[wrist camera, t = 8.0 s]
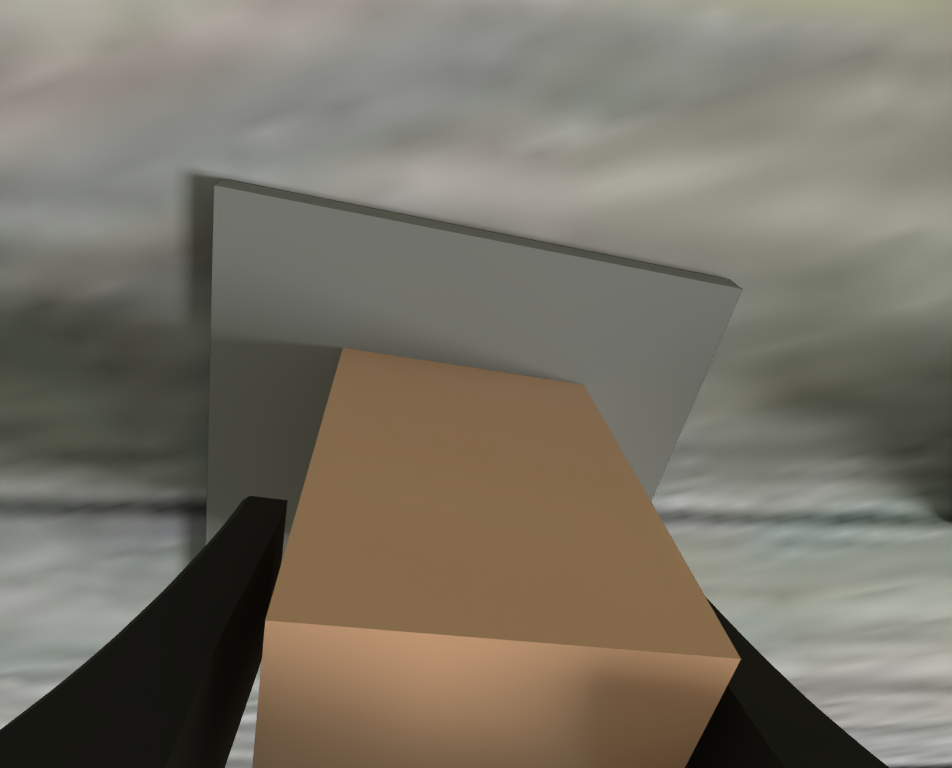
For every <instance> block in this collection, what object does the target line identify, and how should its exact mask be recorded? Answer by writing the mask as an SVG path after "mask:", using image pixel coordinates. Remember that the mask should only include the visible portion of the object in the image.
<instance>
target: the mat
mask: <svg viewBox="0 0 952 768" xmlns="http://www.w3.org/2000/svg"><path fill="white" fill-rule="evenodd" d="M741 292H742V288H740V287H739V286H738V285H736V284H735V283H734V282H732V281H731V280H730V279H725V278H720V277H715V276H710V275H705V274H700V273H695V272H690V271H685V270H680V269H675V268H670V267H665V266H660V265H655V264H650V263H645V262H640V261H635V260H630V259H625V258H620V257H615V256H610V255H605V254H600V253H595V252H590V251H584V250H579V249H574V248H569V247H564V246H559V245H554V244H549V243H544V242H539V241H534V240H529V239H524V238H519V237H514V236H509V235H504V234H499V233H494V232H489V231H484V230H479V229H474V228H469V227H464V226H459V225H454V224H449V223H444V222H439V221H434V220H429V219H423V218H418V217H413V216H408V215H403V214H398V213H393V212H388V211H383V210H378V209H373V208H368V207H363V206H358V205H353V204H348V203H343V202H338V201H333V200H328V199H323V198H318V197H313V196H308V195H303V194H298V193H293V192H288V191H283V190H278V189H273V188H267V187H262V186H257V185H252V184H247V183H242V182H237V181H232V180H227V179H223V180H221V181H220V182H218V183H217V184H215V185H214V211H213V254H212V297H211V340H210V383H209V426H208V469H207V512H206V545H207V544H208V542H209V541H210V540H211V539H212V538H213V537H214V536H215V534H216V533H217V532H218V531H219V530H220V528H221V527H222V526H223V525H224V524H225V522H226V521H227V520H228V519H229V517H230V516H231V515H232V514H233V512H234V511H235V510H236V508H237V507H238V506H239V504H240V503H241V502H242V500H244V499H245V498H247V497H249V496H256V497H265V498H273V499H282V500H288V501H287V512H286V522H285V532H284V542H283V553H282V560H283V556H284V553H285V549H286V546H287V542H288V539H289V535H290V532H291V528H292V525H293V521H294V518H295V514H296V511H297V507H298V504H299V500H300V497H301V493H302V490H303V486H304V483H305V479H306V476H307V472H308V468H309V465H310V461H311V458H312V454H313V451H314V447H315V444H316V440H317V437H318V433H319V430H320V426H321V423H322V419H323V416H324V412H325V409H326V405H327V402H328V398H329V395H330V391H331V388H332V384H333V381H334V377H335V374H336V370H337V367H338V363H339V360H340V356H341V353H342V349H343V348H348V349H355V350H361V351H368V352H374V353H381V354H387V355H394V356H400V357H407V358H413V359H420V360H427V361H433V362H440V363H446V364H453V365H459V366H466V367H472V368H479V369H485V370H492V371H498V372H505V373H511V374H518V375H524V376H531V377H537V378H544V379H550V380H557V381H564V382H570V383H577V384H583V385H584V386H585V388H586V389H587V391H588V393H589V394H590V396H591V398H592V400H593V401H594V403H595V405H596V407H597V408H598V410H599V412H600V414H601V415H602V417H603V419H604V421H605V422H606V424H607V426H608V428H609V429H610V431H611V433H612V435H613V436H614V438H615V440H616V442H617V443H618V445H619V447H620V449H621V450H622V452H623V454H624V456H625V457H626V459H627V461H628V463H629V464H630V466H631V468H632V470H633V471H634V473H635V475H636V477H637V478H638V480H639V482H640V484H641V485H642V487H643V489H644V490H645V492H646V494H647V496H648V497H649V499H650V501H651V500H652V498H653V495H654V493H655V491H656V489H657V486H658V484H659V482H660V479H661V477H662V475H663V472H664V470H665V468H666V465H667V463H668V461H669V458H670V456H671V454H672V451H673V449H674V447H675V444H676V442H677V440H678V438H679V435H680V433H681V431H682V428H683V426H684V424H685V421H686V419H687V417H688V414H689V412H690V410H691V407H692V405H693V403H694V400H695V398H696V396H697V393H698V391H699V389H700V387H701V384H702V382H703V380H704V377H705V375H706V373H707V370H708V368H709V366H710V363H711V361H712V359H713V356H714V354H715V352H716V349H717V347H718V345H719V343H720V340H721V338H722V336H723V333H724V331H725V329H726V326H727V324H728V322H729V319H730V317H731V315H732V312H733V310H734V308H735V305H736V303H737V301H738V298H739V296H740V294H741Z"/></svg>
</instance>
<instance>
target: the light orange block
mask: <svg viewBox="0 0 952 768" xmlns="http://www.w3.org/2000/svg"><path fill="white" fill-rule="evenodd" d="M740 660H741V658H740V656H739V655H738V653H737V651H736V649H735V648H734V646H733V644H732V642H731V641H730V639H729V637H728V635H727V634H726V632H725V630H724V628H723V627H722V625H721V623H720V621H719V620H718V618H717V616H716V614H715V613H714V611H713V609H712V607H711V606H710V604H709V602H708V600H707V599H706V597H705V595H704V593H703V592H702V590H701V588H700V587H699V585H698V583H697V581H696V580H695V578H694V576H693V574H692V573H691V571H690V569H689V567H688V566H687V564H686V562H685V560H684V559H683V557H682V555H681V553H680V552H679V550H678V548H677V546H676V545H675V543H674V541H673V539H672V538H671V536H670V534H669V532H668V531H667V529H666V527H665V525H664V524H663V522H662V520H661V518H660V517H659V515H658V513H657V511H656V510H655V508H654V506H653V504H652V503H651V501H650V499H649V497H648V496H647V494H646V492H645V490H644V489H643V487H642V485H641V484H640V482H639V480H638V478H637V477H636V475H635V473H634V471H633V470H632V468H631V466H630V464H629V463H628V461H627V459H626V457H625V456H624V454H623V452H622V450H621V449H620V447H619V445H618V443H617V442H616V440H615V438H614V436H613V435H612V433H611V431H610V429H609V428H608V426H607V424H606V422H605V421H604V419H603V417H602V415H601V414H600V412H599V410H598V408H597V407H596V405H595V403H594V401H593V400H592V398H591V396H590V394H589V393H588V391H587V389H586V388H585V386H584V385H583V384H577V383H570V382H564V381H557V380H550V379H544V378H537V377H531V376H524V375H518V374H511V373H505V372H498V371H492V370H485V369H479V368H472V367H466V366H459V365H453V364H446V363H440V362H433V361H427V360H420V359H413V358H407V357H400V356H394V355H387V354H381V353H374V352H368V351H361V350H355V349H348V348H343V349H342V353H341V356H340V360H339V363H338V367H337V370H336V374H335V377H334V381H333V384H332V388H331V391H330V395H329V398H328V402H327V405H326V409H325V412H324V416H323V419H322V423H321V426H320V430H319V433H318V437H317V440H316V444H315V447H314V451H313V454H312V458H311V461H310V465H309V468H308V472H307V476H306V479H305V483H304V486H303V490H302V493H301V497H300V500H299V504H298V507H297V511H296V514H295V518H294V521H293V525H292V528H291V532H290V535H289V539H288V542H287V546H286V549H285V553H284V556H283V560H282V563H281V567H280V570H279V574H278V577H277V581H276V584H275V588H274V591H273V595H272V598H271V602H270V606H269V609H268V613H267V616H266V620H265V629H264V641H263V652H262V664H261V675H260V687H259V698H258V710H257V721H256V733H255V744H254V756H253V768H685V766H686V764H687V763H688V761H689V759H690V757H691V755H692V753H693V751H694V749H695V747H696V745H697V743H698V741H699V739H700V737H701V735H702V734H703V732H704V730H705V728H706V726H707V724H708V722H709V720H710V718H711V716H712V714H713V712H714V710H715V708H716V706H717V705H718V703H719V701H720V699H721V697H722V695H723V693H724V691H725V689H726V687H727V685H728V683H729V681H730V679H731V677H732V676H733V674H734V672H735V670H736V668H737V666H738V664H739V662H740Z"/></svg>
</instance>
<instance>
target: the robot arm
mask: <svg viewBox="0 0 952 768" xmlns="http://www.w3.org/2000/svg"><path fill="white" fill-rule="evenodd" d="M287 501H288V500H282V499H273V498H265V497H256V496H249V497H247V498H245V499H244V500H242V502H241V503H240V504H239V506H238V507H237V508H236V510H235V511H234V512H233V514H232V515H231V516H230V517H229V519H228V520H227V521H226V522H225V524H224V525H223V526H222V527H221V528H220V530H219V531H218V532H217V533H216V534H215V536H214V537H213V538H212V539H211V540H210V541H209V542H208V544H207V545H206V546H205V547H204V548H203V549H202V550H201V552H200V553H199V554H198V555H197V556H196V557H195V558H194V559H193V560H192V561H191V562H190V563H189V564H188V565H187V567H186V568H185V569H184V570H183V571H182V572H181V573H180V574H179V575H178V576H177V577H176V578H175V579H174V580H173V581H172V582H171V584H170V585H169V586H168V587H167V588H166V589H165V590H164V591H163V592H162V593H161V594H160V595H159V596H158V597H157V598H156V599H154V600H153V601H152V602H151V603H150V604H149V605H148V606H147V607H146V608H145V609H144V610H143V611H142V612H141V613H140V614H139V615H138V616H137V617H136V618H135V619H133V620H132V621H131V622H130V623H129V624H128V625H127V626H126V627H125V628H124V629H123V630H122V631H121V632H120V633H119V634H118V635H116V636H115V637H114V638H113V639H112V640H111V641H110V642H109V643H107V644H106V645H105V646H104V647H103V648H102V649H101V650H100V651H98V652H97V653H96V654H95V655H94V656H93V657H91V658H90V659H89V660H88V661H87V662H86V663H84V664H83V665H82V666H81V667H80V668H78V669H77V670H76V671H75V672H73V673H72V674H71V675H70V676H69V677H67V678H66V679H65V680H64V681H63V682H61V683H60V684H59V685H58V686H56V687H55V688H54V689H53V690H51V691H50V692H49V693H48V694H46V695H45V696H44V697H42V698H41V699H40V700H39V701H37V702H36V703H35V704H33V705H32V706H31V707H29V708H28V709H27V710H25V711H24V712H23V713H22V714H20V715H19V716H18V717H16V718H15V719H14V720H12V721H11V722H10V723H9V724H7V725H6V726H5V727H3V728H2V729H1V730H0V768H225V765H226V762H227V759H228V756H229V753H230V750H231V747H232V745H233V742H234V739H235V736H236V733H237V730H238V727H239V724H240V721H241V718H242V715H243V713H244V710H245V707H246V704H247V701H248V698H249V695H250V692H251V689H252V686H253V683H254V680H255V677H256V674H257V672H258V669H259V666H260V663H261V660H262V652H263V641H264V629H265V620H266V616H267V613H268V609H269V606H270V602H271V598H272V595H273V591H274V588H275V584H276V581H277V577H278V574H279V570H280V567H281V563H282V553H283V542H284V532H285V522H286V512H287ZM706 599H707V598H706ZM707 600H708V599H707ZM708 602H709V604H710V606H711V607H712V609H713V611H714V613H715V614H716V616H717V618H718V620H719V621H720V623H721V625H722V627H723V628H724V630H725V632H726V634H727V635H728V637H729V639H730V641H731V642H732V644H733V646H734V648H735V649H736V651H737V653H738V655H739V656H740V658H741V660H740V662H739V664H738V666H737V668H736V670H735V672H734V674H733V676H732V677H731V679H730V681H729V683H728V685H727V687H726V689H725V691H724V693H723V695H722V697H721V699H720V701H719V703H718V705H717V706H716V708H715V710H714V712H713V714H712V716H711V718H710V720H709V722H708V724H707V726H706V728H705V730H704V732H703V734H702V735H701V737H700V739H699V741H698V743H697V745H696V747H695V749H694V751H693V753H692V755H691V757H690V759H689V761H688V763H687V764H686V766H685V768H889V767H888V766H886V765H885V764H884V763H883V762H881V761H880V760H879V759H878V758H876V757H875V756H874V755H873V754H871V753H870V752H869V751H868V750H866V749H865V748H864V747H863V746H862V745H860V744H859V743H858V742H857V741H856V740H855V739H853V738H852V737H851V736H850V735H849V734H847V733H846V732H845V731H844V730H843V729H842V728H840V727H839V726H838V725H837V724H836V723H835V722H833V721H832V720H831V719H830V718H829V717H828V716H826V715H825V714H824V713H823V712H822V711H821V710H819V709H818V708H817V707H816V706H815V705H814V704H813V703H812V702H811V701H809V700H808V699H807V698H806V697H805V696H804V695H803V694H802V693H801V692H800V691H799V690H797V689H796V688H795V687H794V686H793V685H792V684H791V683H790V682H789V681H788V680H787V679H786V678H785V677H784V676H783V675H782V674H781V673H780V672H779V671H778V670H777V669H775V668H774V667H773V666H772V665H771V664H770V663H769V662H768V661H767V660H766V659H765V658H764V657H763V656H762V655H761V654H760V653H759V652H758V651H757V650H756V649H755V648H754V647H753V646H752V645H751V644H750V643H749V642H748V641H747V640H746V639H745V638H744V637H743V636H742V635H741V634H740V633H739V632H738V631H737V629H736V628H735V627H734V626H733V625H732V624H731V623H730V622H729V621H728V620H727V619H726V618H725V617H724V616H723V615H722V614H721V613H720V612H719V611H718V610H717V608H716V607H715V606H714V605H713V604H712V603H711V602H710V601H709V600H708Z"/></svg>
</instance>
